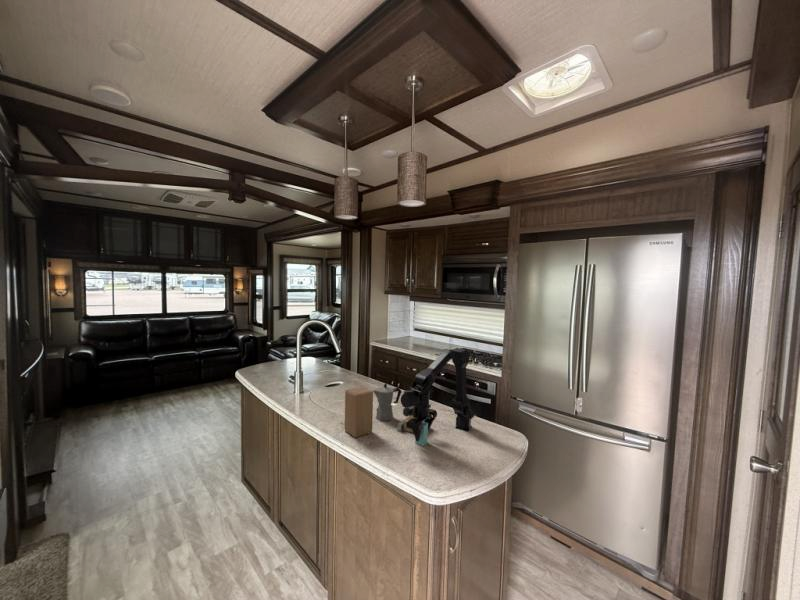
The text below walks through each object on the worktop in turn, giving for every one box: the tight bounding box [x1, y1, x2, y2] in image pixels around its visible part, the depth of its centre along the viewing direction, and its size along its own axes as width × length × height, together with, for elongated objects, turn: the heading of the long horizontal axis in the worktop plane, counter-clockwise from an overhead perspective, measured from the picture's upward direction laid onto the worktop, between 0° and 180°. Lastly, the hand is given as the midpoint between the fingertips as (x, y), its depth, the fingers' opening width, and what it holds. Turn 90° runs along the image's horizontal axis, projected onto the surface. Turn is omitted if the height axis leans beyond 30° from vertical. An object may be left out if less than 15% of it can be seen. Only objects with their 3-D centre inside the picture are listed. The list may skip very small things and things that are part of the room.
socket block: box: [403, 415, 417, 434], centre depth 154 cm, size 10×10×4 cm
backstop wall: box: [397, 416, 410, 433], centre depth 157 cm, size 2×14×4 cm, turn 149°
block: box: [344, 385, 374, 438], centre depth 150 cm, size 10×10×20 cm
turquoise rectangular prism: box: [414, 422, 429, 447], centre depth 140 cm, size 4×4×9 cm
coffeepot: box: [372, 383, 402, 422], centre depth 167 cm, size 15×9×18 cm, turn 107°
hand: (421, 437), depth 141 cm, fingers open, 8 cm apart
